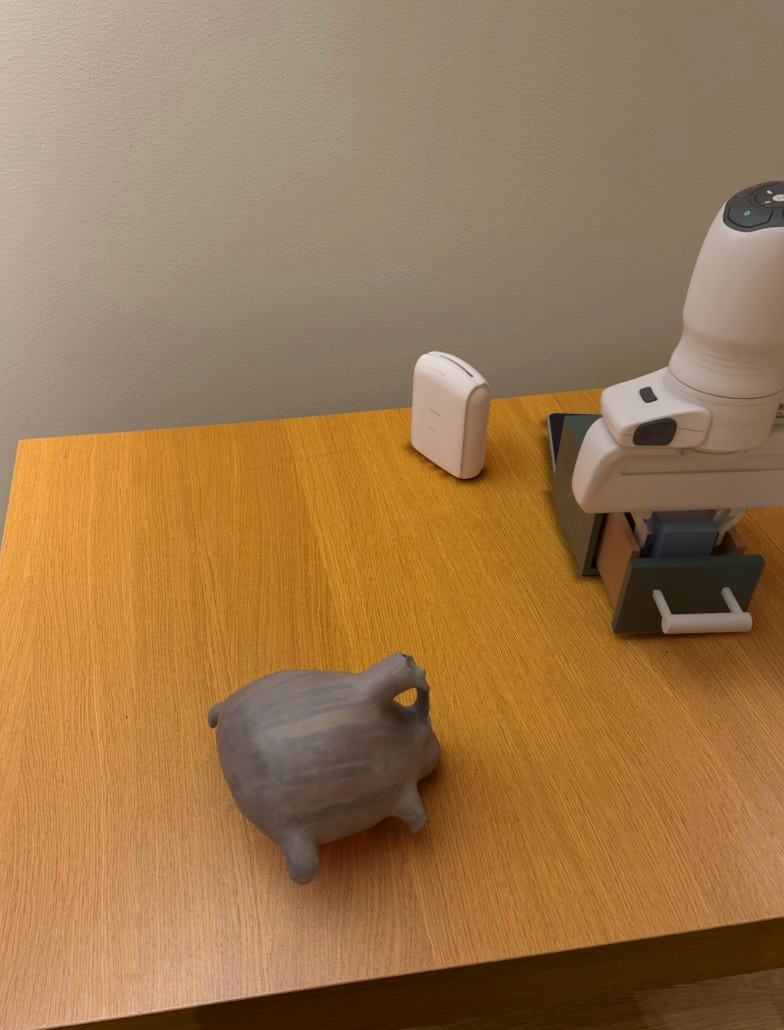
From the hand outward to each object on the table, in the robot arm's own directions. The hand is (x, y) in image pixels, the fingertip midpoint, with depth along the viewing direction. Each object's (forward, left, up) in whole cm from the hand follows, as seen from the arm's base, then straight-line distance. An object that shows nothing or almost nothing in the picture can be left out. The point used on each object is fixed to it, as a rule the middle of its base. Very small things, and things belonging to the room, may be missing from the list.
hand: (675, 543), depth 83 cm
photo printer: (+17, -27, -7) cm, 32 cm away
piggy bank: (+32, +22, -7) cm, 40 cm away
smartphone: (+1, -27, -7) cm, 28 cm away
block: (0, 0, -2) cm, 2 cm away
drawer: (0, +1, -6) cm, 6 cm away
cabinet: (0, -12, -7) cm, 14 cm away
